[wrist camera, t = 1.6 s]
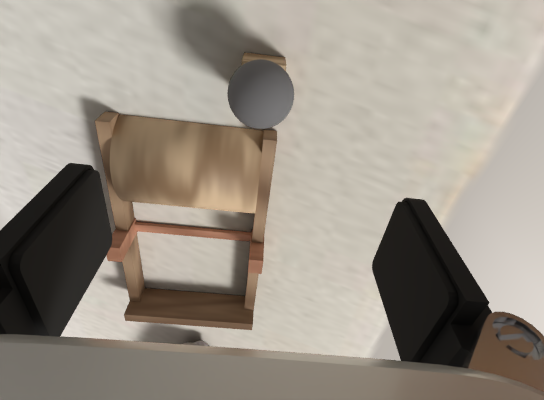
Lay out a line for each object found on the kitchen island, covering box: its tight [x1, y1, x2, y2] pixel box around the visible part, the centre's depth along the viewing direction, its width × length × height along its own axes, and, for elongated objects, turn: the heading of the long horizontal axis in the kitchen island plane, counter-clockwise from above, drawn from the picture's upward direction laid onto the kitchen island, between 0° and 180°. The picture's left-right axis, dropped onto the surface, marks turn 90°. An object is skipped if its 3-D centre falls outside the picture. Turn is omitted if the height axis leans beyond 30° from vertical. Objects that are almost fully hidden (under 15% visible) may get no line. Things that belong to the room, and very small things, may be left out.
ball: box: [228, 59, 294, 129], centre depth 20 cm, size 4×4×4 cm
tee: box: [241, 52, 286, 71], centre depth 23 cm, size 3×3×2 cm
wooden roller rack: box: [95, 112, 277, 330], centre depth 32 cm, size 21×13×9 cm, turn 173°
